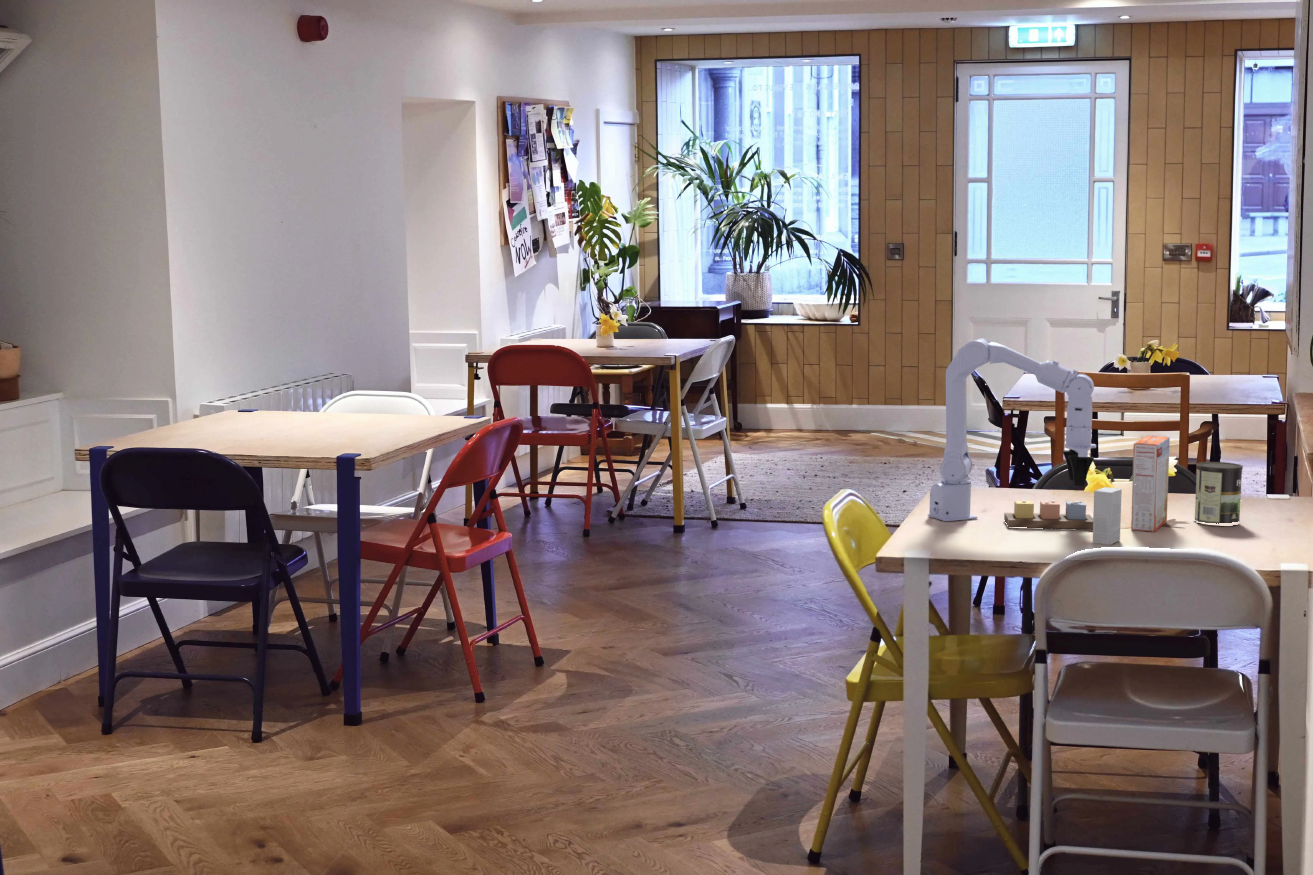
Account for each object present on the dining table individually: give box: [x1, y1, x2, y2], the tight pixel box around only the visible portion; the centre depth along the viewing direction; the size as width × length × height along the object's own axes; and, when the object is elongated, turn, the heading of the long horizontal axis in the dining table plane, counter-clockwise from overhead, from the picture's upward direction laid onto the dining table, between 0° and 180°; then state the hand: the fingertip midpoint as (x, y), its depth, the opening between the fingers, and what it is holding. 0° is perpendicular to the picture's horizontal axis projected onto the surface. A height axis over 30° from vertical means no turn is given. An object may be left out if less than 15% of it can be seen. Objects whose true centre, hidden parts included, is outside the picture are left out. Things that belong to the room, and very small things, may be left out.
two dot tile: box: [1039, 500, 1061, 519], centre depth 331 cm, size 4×4×4 cm
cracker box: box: [1130, 435, 1171, 533], centre depth 329 cm, size 14×6×21 cm, turn 149°
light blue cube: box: [1065, 500, 1087, 520], centre depth 330 cm, size 4×4×4 cm
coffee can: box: [1194, 461, 1244, 524], centre depth 334 cm, size 10×10×14 cm
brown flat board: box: [1003, 512, 1093, 531], centre depth 332 cm, size 20×9×2 cm, turn 82°
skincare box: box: [1092, 486, 1122, 546], centre depth 313 cm, size 6×4×12 cm
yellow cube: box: [1013, 500, 1035, 518], centre depth 332 cm, size 4×4×4 cm
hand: (1076, 482), depth 330 cm, fingers open, 7 cm apart
